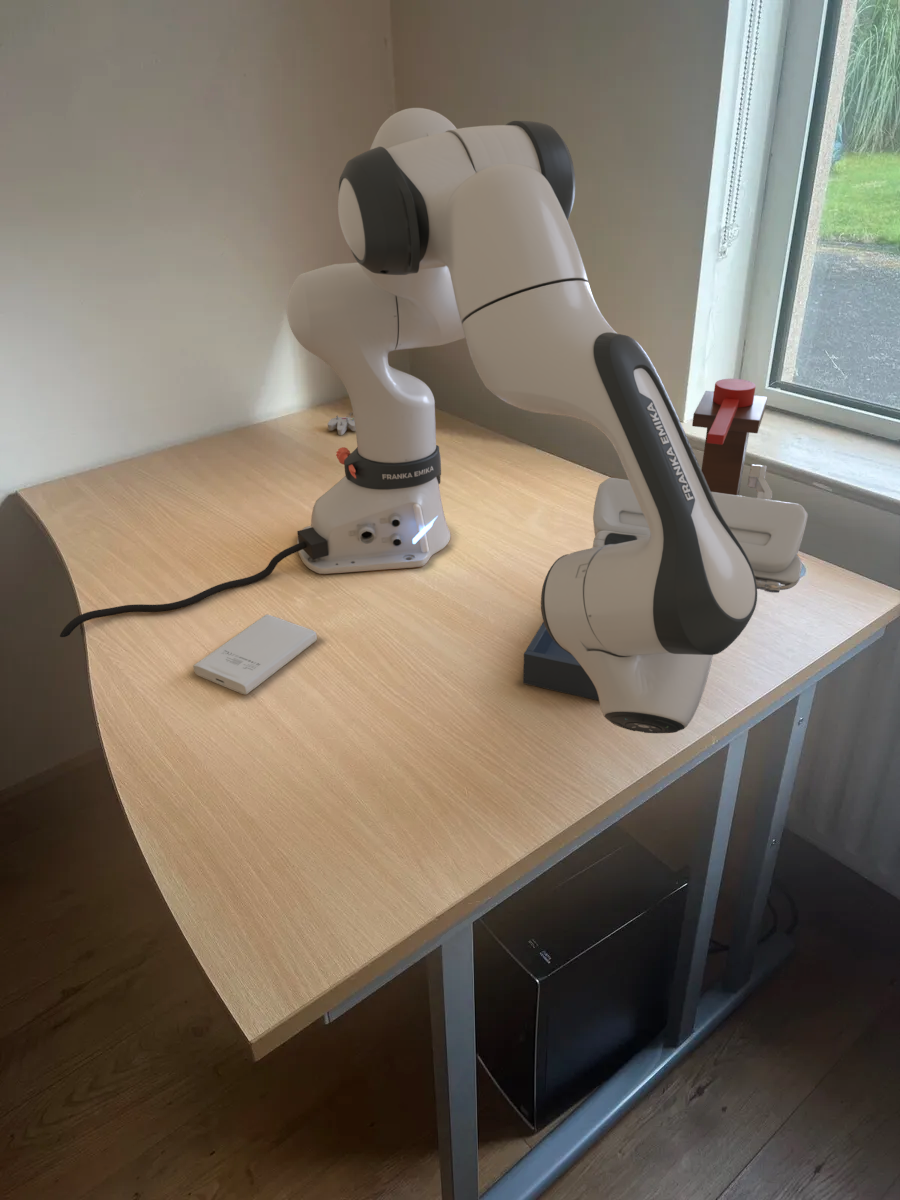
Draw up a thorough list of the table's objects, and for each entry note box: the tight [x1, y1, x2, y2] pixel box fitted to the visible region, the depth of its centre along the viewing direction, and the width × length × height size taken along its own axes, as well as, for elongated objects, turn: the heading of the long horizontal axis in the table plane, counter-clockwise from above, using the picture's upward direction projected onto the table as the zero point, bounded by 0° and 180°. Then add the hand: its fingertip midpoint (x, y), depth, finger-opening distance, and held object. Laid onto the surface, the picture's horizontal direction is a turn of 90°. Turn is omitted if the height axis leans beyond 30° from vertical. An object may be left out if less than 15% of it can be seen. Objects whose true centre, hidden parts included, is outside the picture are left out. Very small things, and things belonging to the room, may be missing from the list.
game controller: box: [327, 412, 356, 436], centre depth 169 cm, size 6×12×3 cm, turn 12°
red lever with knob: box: [707, 378, 756, 445], centre depth 93 cm, size 16×4×2 cm, turn 157°
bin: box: [522, 621, 599, 702], centre depth 102 cm, size 20×10×4 cm, turn 157°
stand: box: [691, 390, 768, 496], centre depth 105 cm, size 10×9×26 cm
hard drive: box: [192, 614, 318, 696], centre depth 102 cm, size 2×8×12 cm
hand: (710, 462), depth 88 cm, fingers open, 8 cm apart
